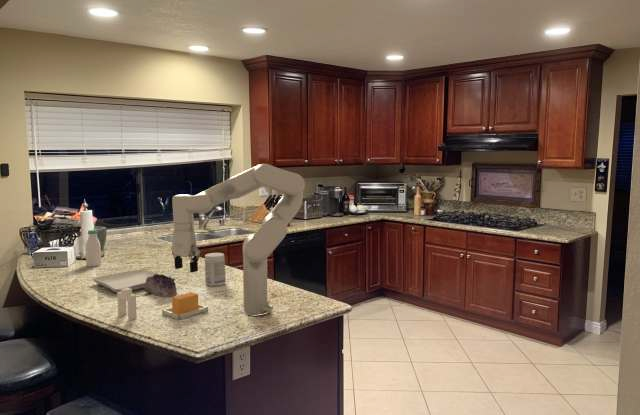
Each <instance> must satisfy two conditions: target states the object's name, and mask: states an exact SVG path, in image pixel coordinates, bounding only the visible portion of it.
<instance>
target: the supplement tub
mask: <svg viewBox="0 0 640 415" xmlns="http://www.w3.org/2000/svg"><path fill="white" fill-rule="evenodd" d="M225 264H226V259H225V254H224V253H222V252H211V253H207V254H205V255H204V273H205V274H204V276H205V285H207V286H208V285H209V286H208V287H216V286H217V287H219V285H220V286H223V285H225V283H226V265H225Z"/></svg>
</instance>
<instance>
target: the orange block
mask: <svg viewBox="0 0 640 415" xmlns="http://www.w3.org/2000/svg"><path fill="white" fill-rule="evenodd" d="M198 304H199V294H198V293H196V292H192V291H190V292H186V293H181V294H180V295H178V294H177V295H175V296H174V297H171V307H172V312H173V313H176V314H179V315H180V314H183V313H187V312H190V311H194V310H197V309H198Z"/></svg>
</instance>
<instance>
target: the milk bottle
mask: <svg viewBox="0 0 640 415" xmlns="http://www.w3.org/2000/svg"><path fill="white" fill-rule="evenodd" d="M87 235H88V237H87V241H86V243H85V265H86V267H89V268H90V267H92V268H93V267H94V268H95V267H99V266H101V265H102V251H101V250H102V249H101V248H102V247H101V242H100V239H99V238H98V230H96V229H89V230H87Z"/></svg>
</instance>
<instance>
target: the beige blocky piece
mask: <svg viewBox="0 0 640 415" xmlns="http://www.w3.org/2000/svg"><path fill="white" fill-rule="evenodd" d="M116 295H117V296H116V298H117V315H118V317H123V316H127V320H128V321H133V320H137V319H138V318H137V317H138V316H137V295H136V294H134V293H133V291H132V289H130V288H124V289H121V292H116Z"/></svg>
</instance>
